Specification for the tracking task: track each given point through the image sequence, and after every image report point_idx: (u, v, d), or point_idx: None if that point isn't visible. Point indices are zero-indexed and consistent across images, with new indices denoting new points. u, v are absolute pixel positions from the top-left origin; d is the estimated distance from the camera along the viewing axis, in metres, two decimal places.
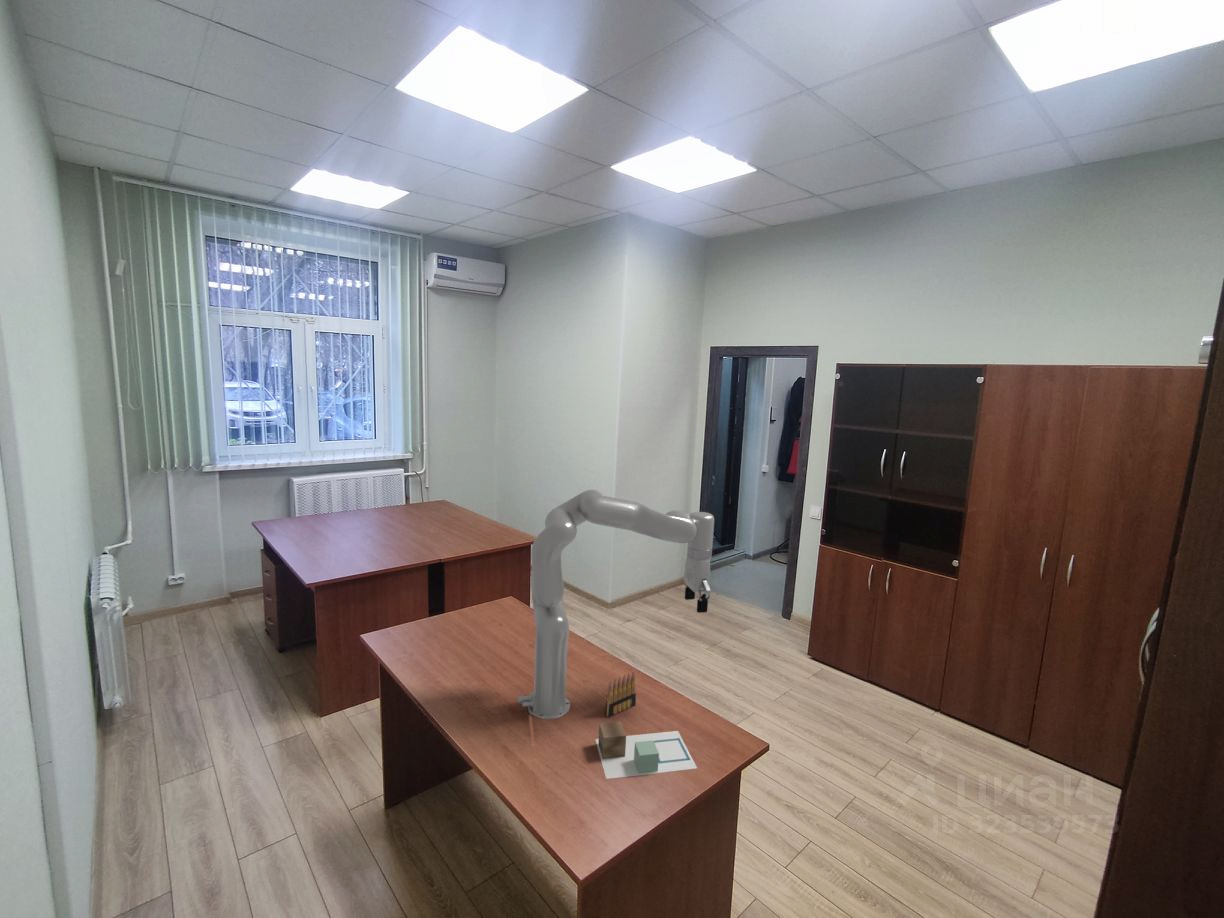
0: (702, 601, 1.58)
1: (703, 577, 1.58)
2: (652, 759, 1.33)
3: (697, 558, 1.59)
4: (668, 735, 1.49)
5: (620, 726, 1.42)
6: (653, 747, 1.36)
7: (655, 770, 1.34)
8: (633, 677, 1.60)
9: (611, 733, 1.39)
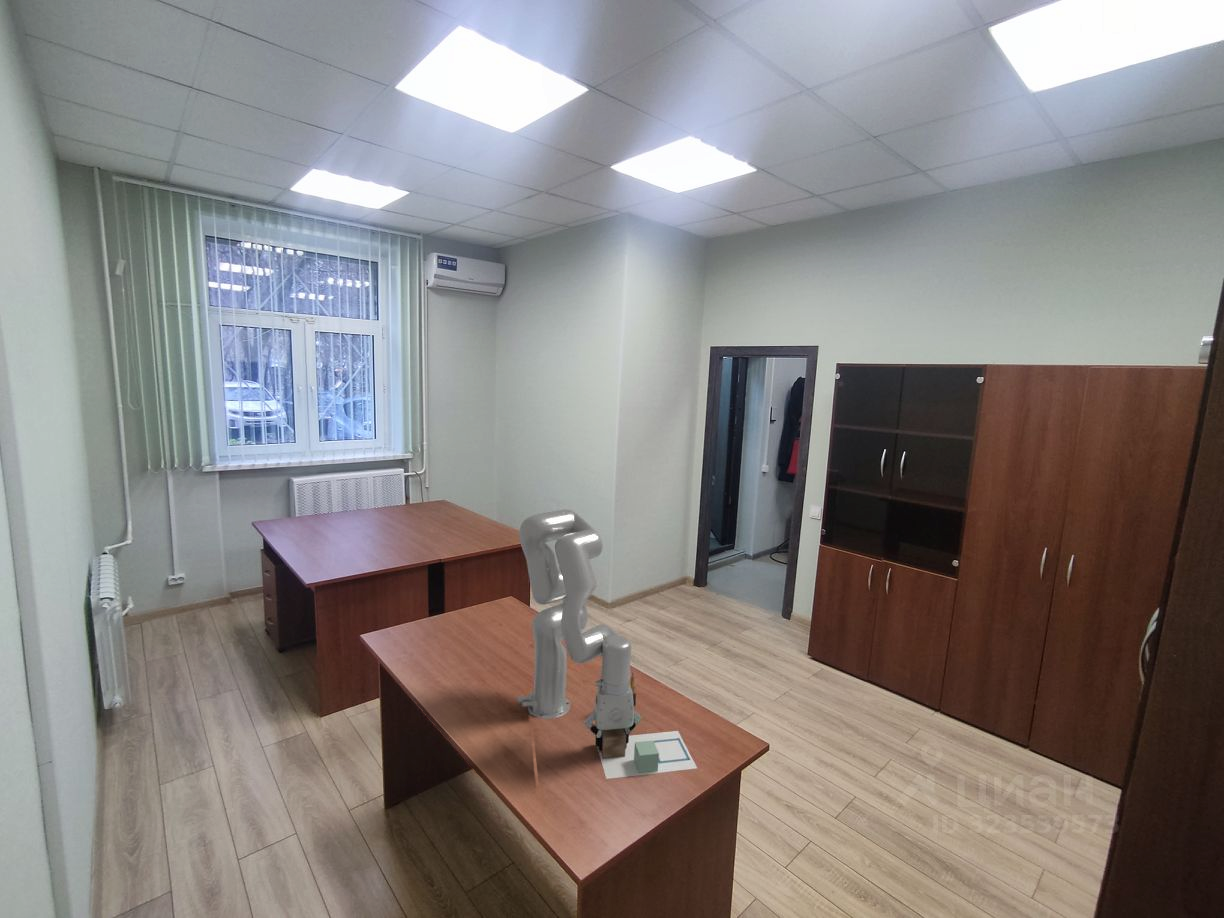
0: None
1: None
2: (652, 759, 1.33)
3: (628, 689, 1.38)
4: (668, 735, 1.49)
5: None
6: (653, 747, 1.36)
7: (655, 770, 1.34)
8: (633, 677, 1.60)
9: (611, 733, 1.39)
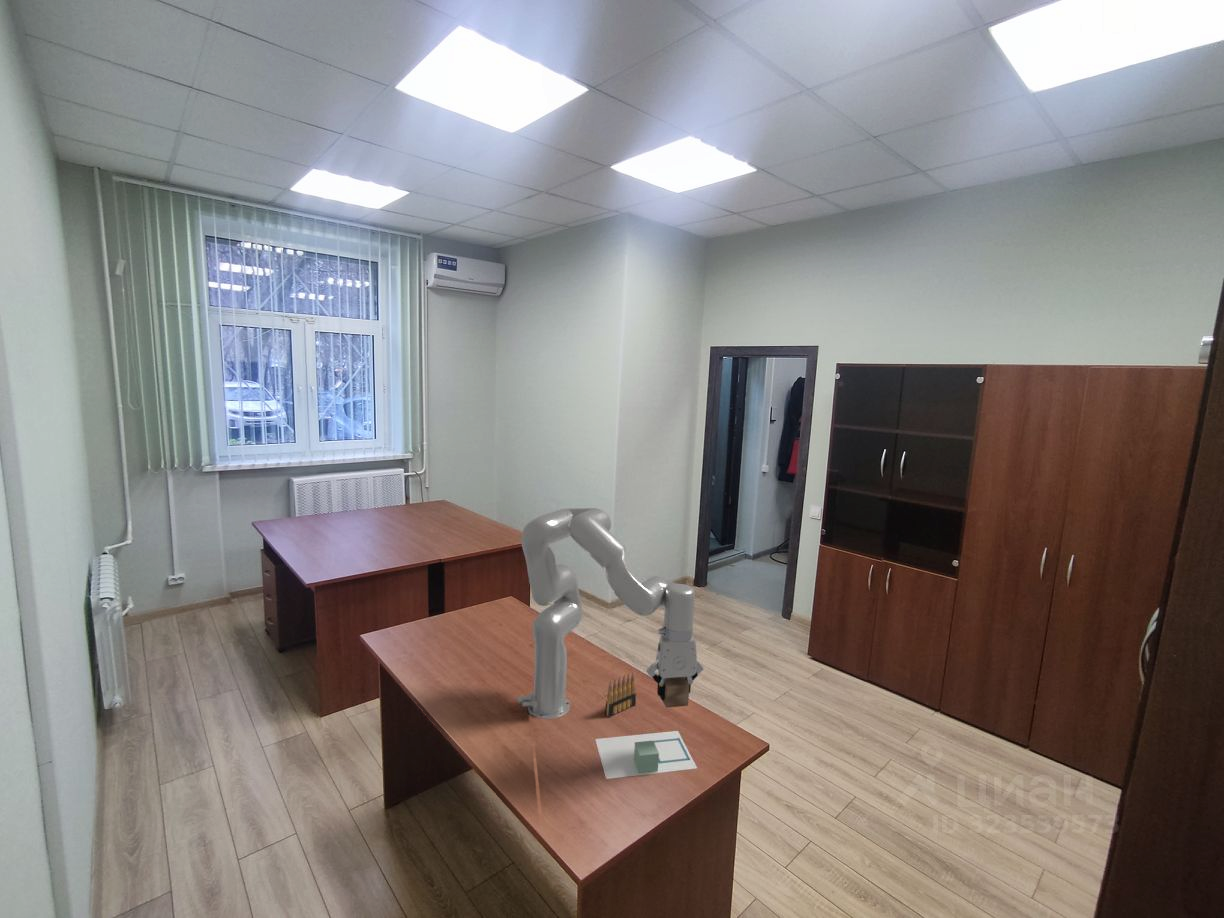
0: None
1: None
2: (652, 759, 1.33)
3: (691, 637, 1.36)
4: (668, 735, 1.49)
5: None
6: (653, 747, 1.36)
7: (655, 770, 1.34)
8: (633, 677, 1.60)
9: (673, 681, 1.38)
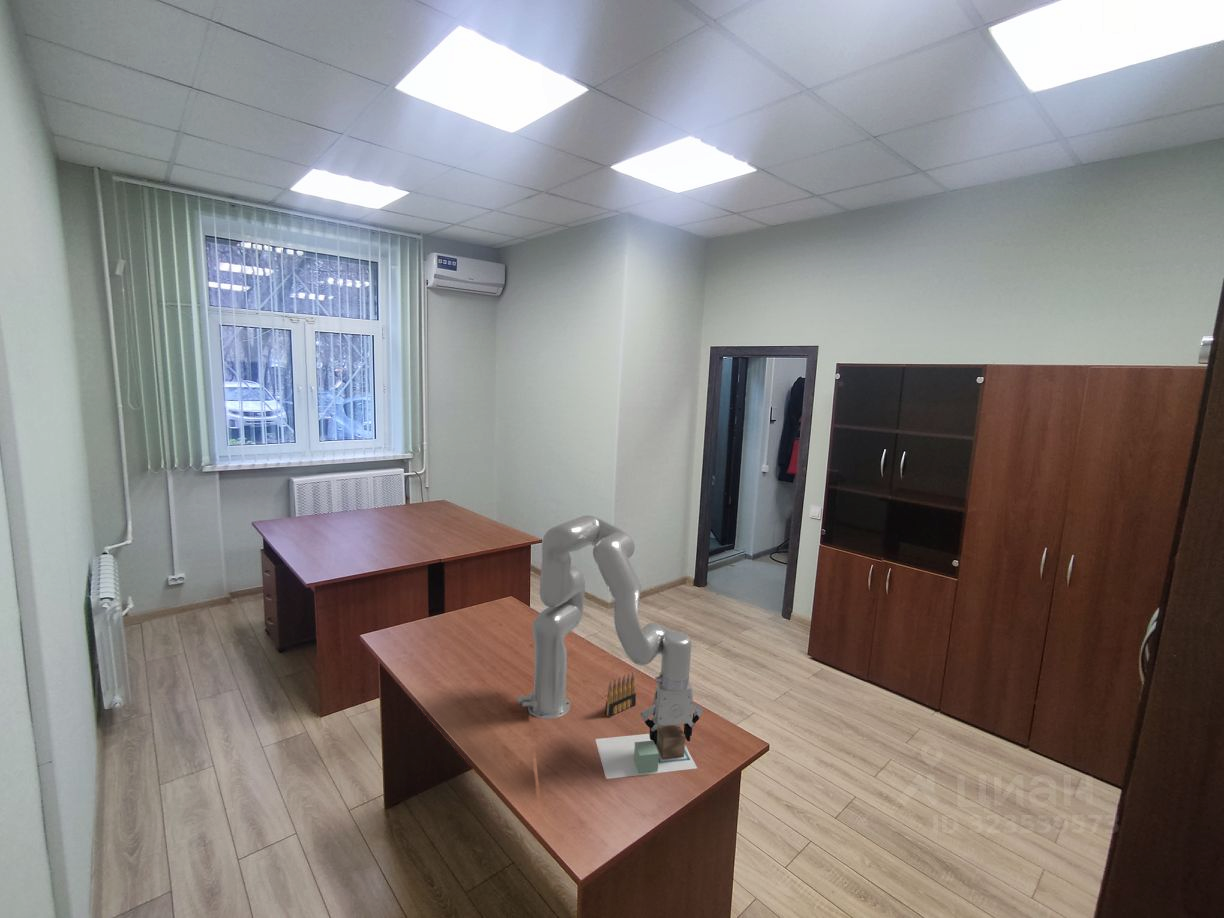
0: None
1: None
2: (652, 759, 1.33)
3: (688, 685, 1.38)
4: None
5: (678, 727, 1.43)
6: (653, 747, 1.36)
7: (655, 770, 1.34)
8: (633, 677, 1.60)
9: (670, 733, 1.40)
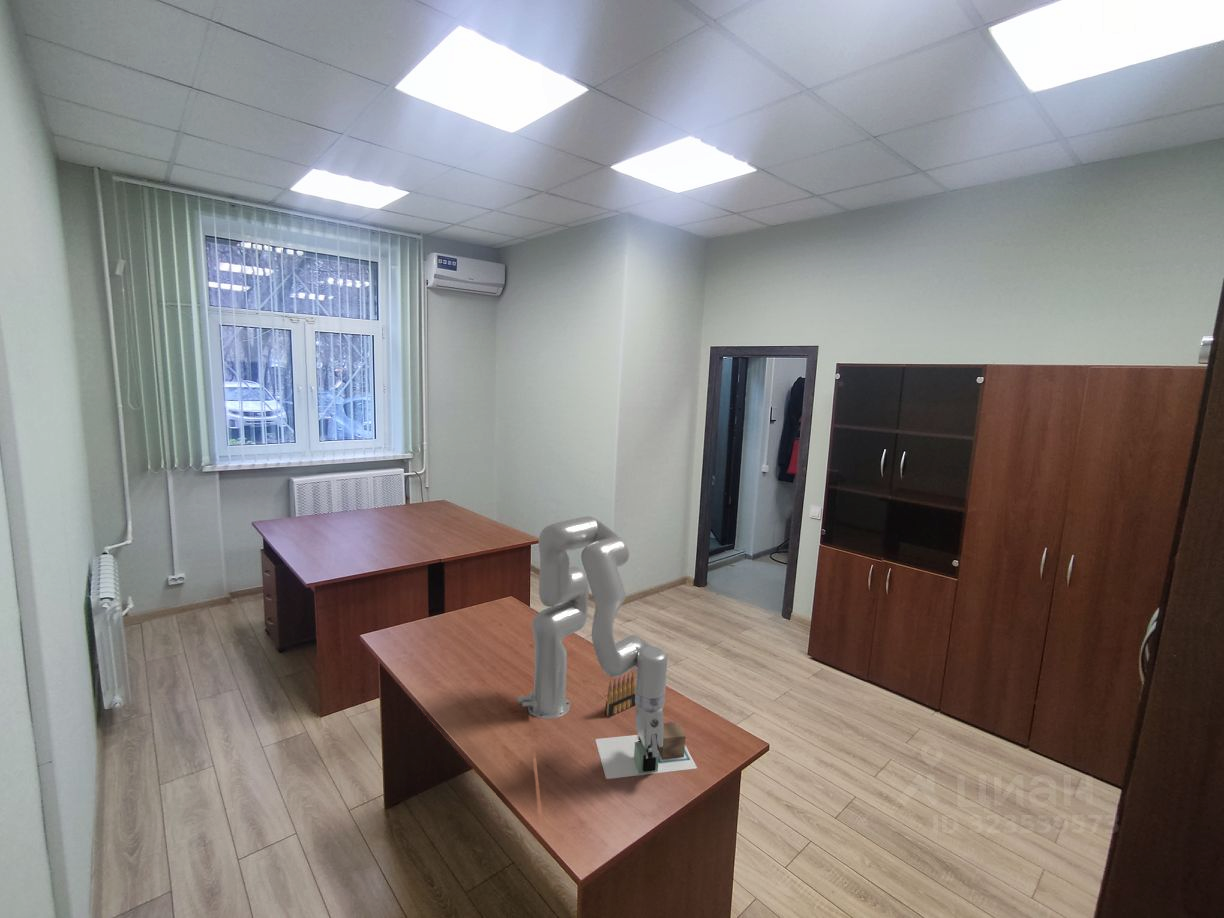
0: None
1: None
2: None
3: None
4: None
5: (678, 727, 1.43)
6: None
7: (655, 770, 1.34)
8: (633, 677, 1.60)
9: (670, 733, 1.40)
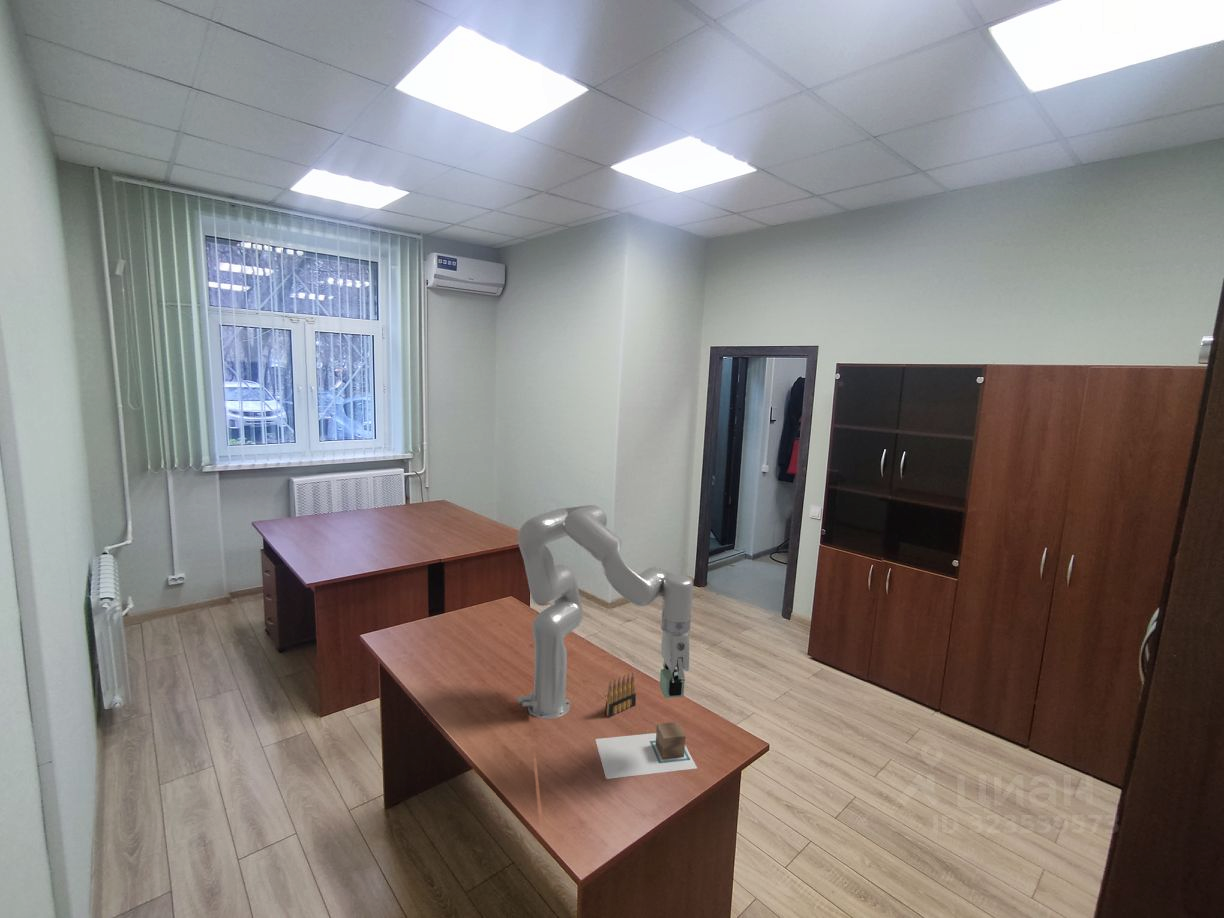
0: None
1: None
2: None
3: None
4: None
5: (678, 727, 1.43)
6: None
7: (681, 695, 1.37)
8: (633, 677, 1.60)
9: (670, 733, 1.40)
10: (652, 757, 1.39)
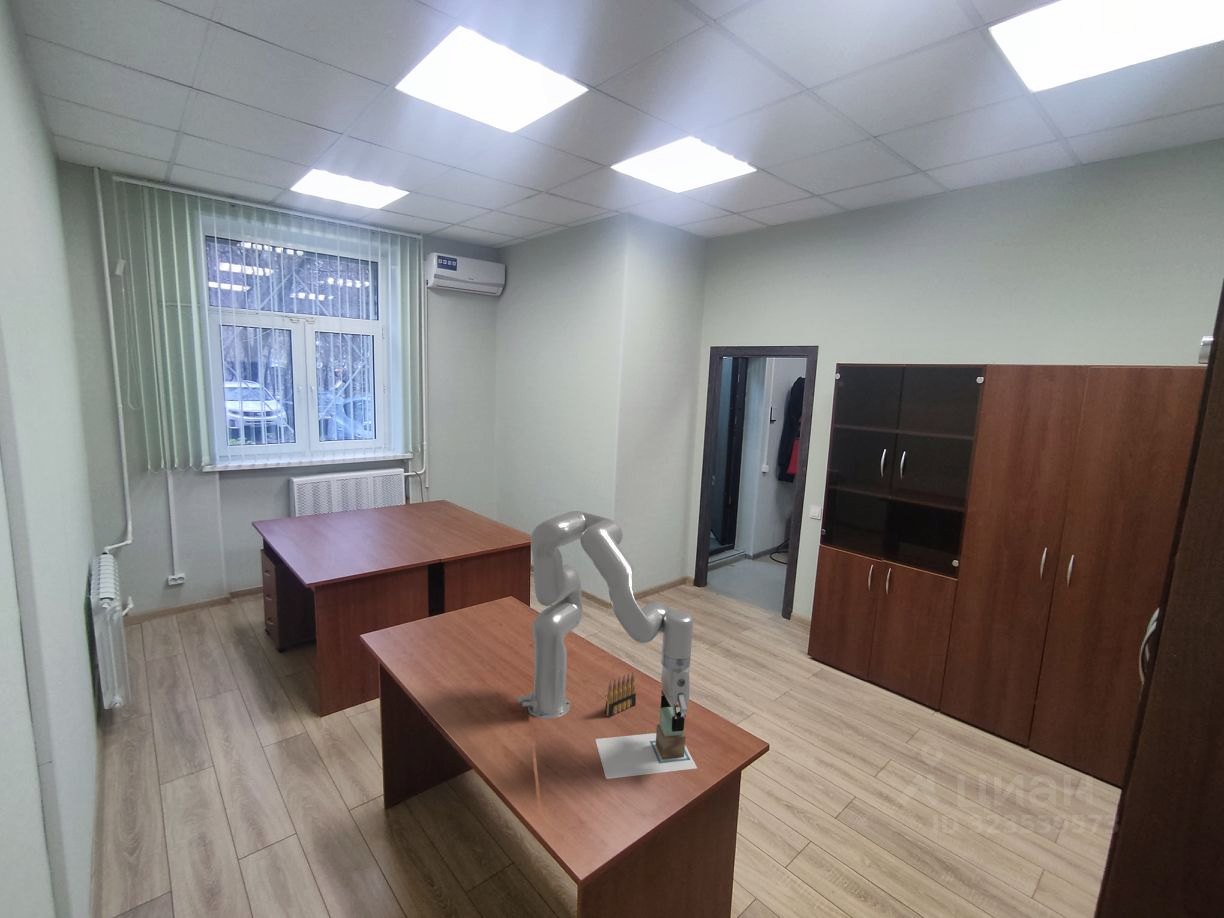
0: None
1: None
2: None
3: None
4: None
5: None
6: None
7: (680, 734, 1.39)
8: (633, 677, 1.60)
9: None
10: (652, 757, 1.39)
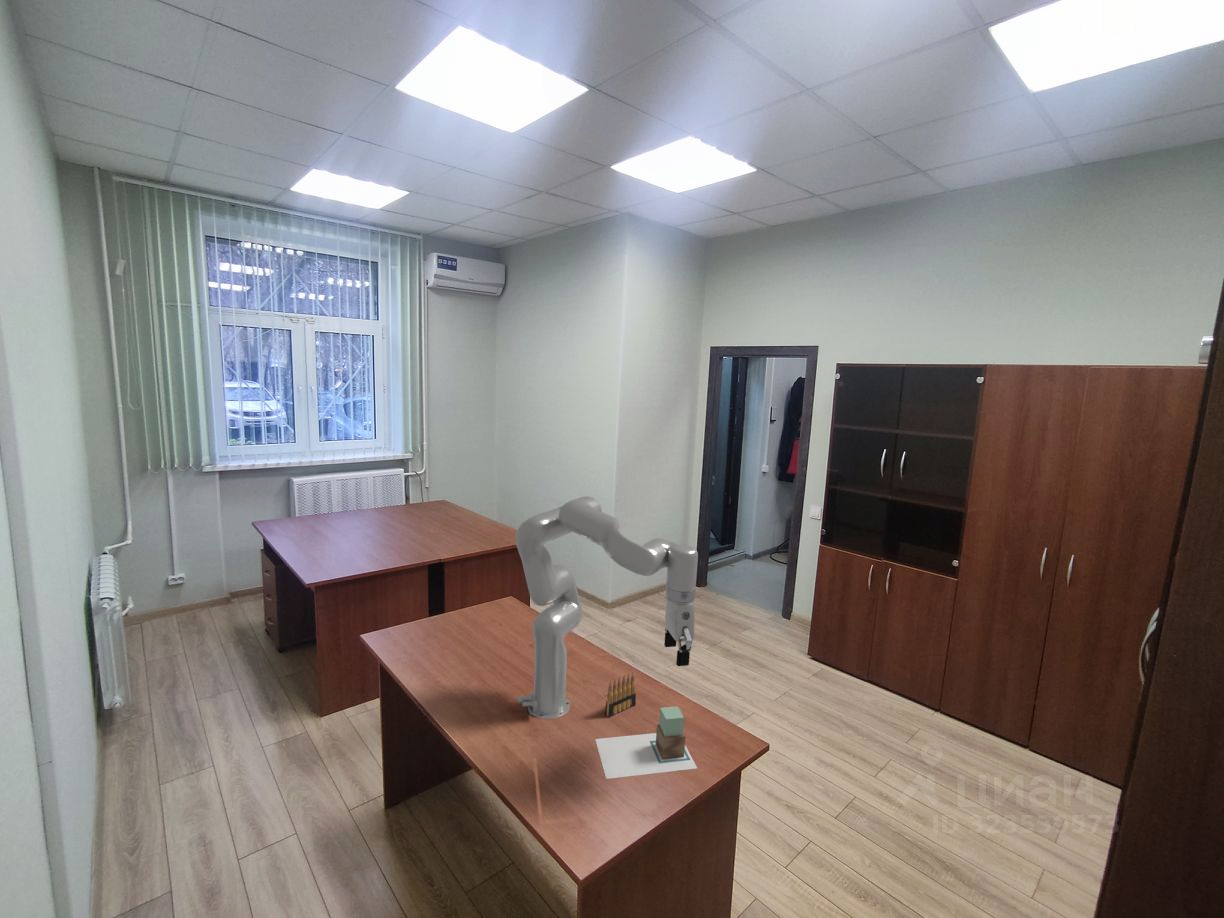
0: None
1: None
2: (677, 723, 1.39)
3: None
4: None
5: None
6: (678, 712, 1.41)
7: (680, 734, 1.39)
8: (633, 677, 1.60)
9: None
10: (652, 757, 1.39)
